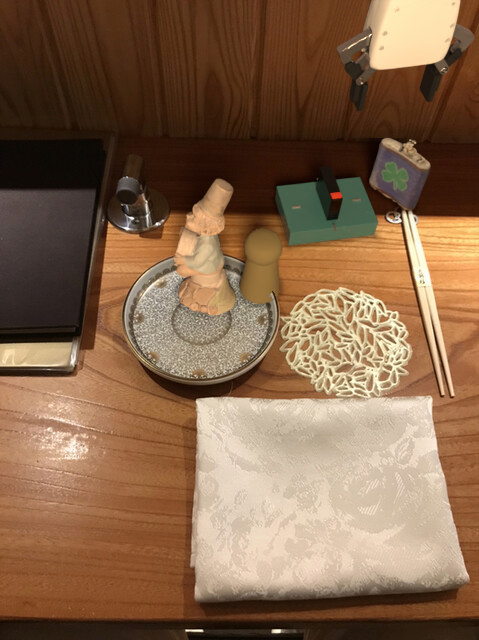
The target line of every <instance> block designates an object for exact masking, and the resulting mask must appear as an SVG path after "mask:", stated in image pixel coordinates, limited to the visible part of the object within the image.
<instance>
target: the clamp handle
mask: <svg viewBox="0 0 479 640" xmlns="http://www.w3.org/2000/svg"><path fill="white" fill-rule="evenodd" d="M317 178H318V180H317V179H316V182H317V185H316V190H317V193H318V196H319V199H320V202H321V205H322V208H323V211H324V214H325V217H326V220H327V221H328V220H337V219H338V216H339V213H340V209H341V205H342V201H343V198H342V195H341V192H340V190H339V187H338V184H337V181H336V180H337V179H336V177H335V173H334V171H333V169H332V166H331V165H328V166H320V167H319V170H318V175H317Z"/></svg>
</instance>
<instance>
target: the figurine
mask: <svg viewBox="0 0 479 640" xmlns="http://www.w3.org/2000/svg"><path fill="white" fill-rule="evenodd" d="M233 194H234V187H233V186H232V185H231V184H230V183H229V182H228V181H226V180H224V179H222V178H216V179H215V180H214V181H213V183H212V184H211V185H210V187H209V188H208V190H207V191H206V193H205V195H204V196H203V198H201V200H199V201H198V202H197V203H195V204H194V205H193V207H192V211H189V212H188V213H186V214H185V216H186V218H185V219H186V220H185V224H184V226H182V227H181V228H180V229H179V232H178V236H179V239H178V242H177V244H176V249H175V254H174V255H173V257H172V258H173V259H172V260H173V261H174V262H173V266H175V267H176V269H175V271H176V273H177V274H178V275H179V276H180V277H182V278H184V280H183V281H182V282H181V284H180V285H179V288H178V295H177V297H178V298H179V303H180V304H181V305H184V306H185V307H186V308H189V309H190V310H191V311H193V312H201V313H202V314H208V315H210V316H220V315H221V314H224V313H226V312H229V311H230V310H232V309H233V308H234V306H235V304H236V301H237V297H236V292H235V291H234V288H232V287H231V285H230V283H229V280H228V277H227V275H228V273H227V271H226V269H225V268H224V265H225V256H224V252H223V250H222V249H221V242H220V238H219V234H220V233H221V232H222V231H224V229H225V224H226V218H225V215H224V212H225V210H226V208H227V206H228V204H229V202H230V200H231V198H232V195H233Z"/></svg>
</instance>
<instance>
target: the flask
mask: <svg viewBox="0 0 479 640" xmlns="http://www.w3.org/2000/svg"><path fill="white" fill-rule="evenodd" d="M416 144H417V141H416V140H415V139H409V141H407V142H406V143H405V142H404V143H402V142H399V141H397V140H395V139H393V138H391V137H385V138H383V139H381V140H380V143H379V147H378V150H377V153H376V154H377V155H376V158H375V161H374V163H373V167H372V170H371V173H370V177H369V178H368V184H369V185H370V187H371V188H373V190H377V191H378V192H379V193H381V194H382V195H383V196H384V197H385V198H388V199H391V200H392V202H395V203H397V204H398V206H399V207H401V208H402V209H403V210H406V211H413V210H414V209H415V208H416V206H417V204H418V202H419V199H420V198H421V197H420V196H421V194H422V191H423V188H424V186H425V183H426V181H427V179H428V176H429V174H430V171H431V166H432V165H431V163H430V162H429V161H428V160H427V159H426V158H425V157H423V156H422V155H421V154H420V153H418V152H417V149H416V148H415V147H414V145H416ZM408 205H409V206H408Z"/></svg>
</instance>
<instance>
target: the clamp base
mask: <svg viewBox="0 0 479 640" xmlns="http://www.w3.org/2000/svg"><path fill="white" fill-rule="evenodd" d="M317 180H318V177H316V181H311V182H302V183H293V184H285V185H277V186H276V189H275V198H274V200H275V204H276V207H277V211H278V214H279V218H280V221H281V225H282V228H283V232H284V235H285V238H286V241H287V245H288V246H289V247H290V246H297V245H304V244H305V245H306V244H313V243H314V244H315V243H321V242H322V243H323V242H329V241H338V240H347V239H352V238H353V239H354V238H355V239H356V238H363V237H370V236H375V234H376V230H377V227H378V225H379V220H378V218H377V215H376V213H375V211H374V208H373V206H372V203H371V201H370V199H369V195H368V193H367V191H366V189H365V186H364V184H363V181H362V179H361V177H360V176H358V177H356V176H355V177H348V178H340V179H339V178H338V179H336V181H337V184H338V187H339V190H340V192H341V195H342V198H343V201H342V205H341V209H340V213H339V216H338V219H337V220H328V221H327V220H326V217H325V214H324V211H323V208H322V205H321V202H320V199H319V196H318V193H317V190H316V185H317Z"/></svg>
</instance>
